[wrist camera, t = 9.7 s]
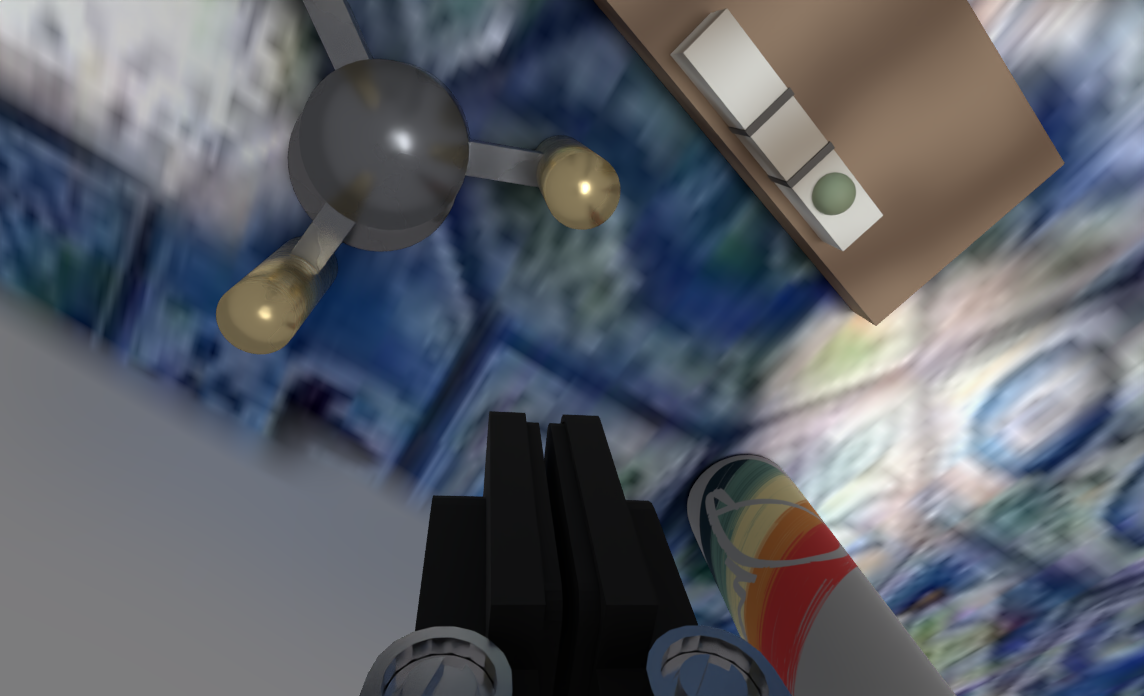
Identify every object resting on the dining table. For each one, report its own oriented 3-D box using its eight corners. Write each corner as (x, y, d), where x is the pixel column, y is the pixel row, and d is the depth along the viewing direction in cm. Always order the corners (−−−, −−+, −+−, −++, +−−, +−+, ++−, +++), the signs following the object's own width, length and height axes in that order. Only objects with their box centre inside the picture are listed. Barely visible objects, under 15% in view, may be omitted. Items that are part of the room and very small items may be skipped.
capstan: (307, -96, 23) (241, -160, 17) (601, 161, 28) (635, 186, 21) (134, 182, 26) (20, 215, 20) (427, 375, 30) (412, 454, 24)
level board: (560, -40, 25) (576, -64, 21) (765, -266, 23) (830, -346, 19) (853, 311, 32) (911, 348, 28) (1029, 158, 30) (1120, 171, 26)
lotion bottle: (725, 434, 34) (1017, 867, 15) (810, 477, 35) (1167, 916, 17) (663, 519, 35) (861, 1007, 17) (747, 557, 37) (1012, 1040, 18)
